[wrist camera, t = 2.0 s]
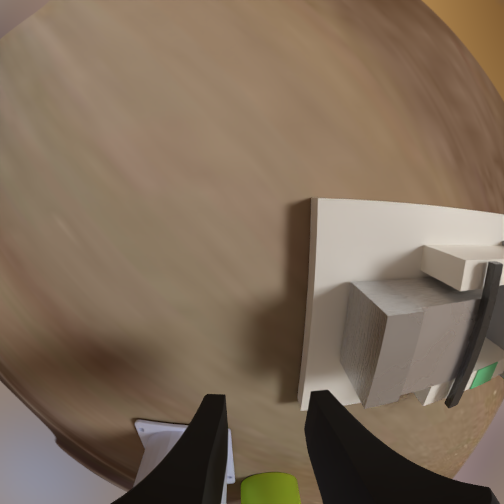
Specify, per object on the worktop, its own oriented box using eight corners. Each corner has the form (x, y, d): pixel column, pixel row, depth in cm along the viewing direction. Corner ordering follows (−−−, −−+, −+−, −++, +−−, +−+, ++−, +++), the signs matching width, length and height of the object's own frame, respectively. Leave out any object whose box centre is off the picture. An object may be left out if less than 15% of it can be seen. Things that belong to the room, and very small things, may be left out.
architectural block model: (514, 216, 16) (592, 235, 6) (483, 356, 19) (538, 404, 9) (311, 197, 15) (400, 208, 6) (297, 397, 18) (323, 505, 9)
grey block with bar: (458, 245, 14) (508, 263, 10) (430, 367, 16) (463, 402, 12) (353, 245, 14) (397, 269, 9) (334, 385, 16) (356, 435, 11)
